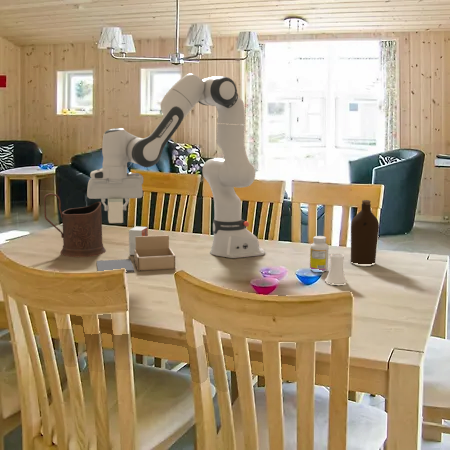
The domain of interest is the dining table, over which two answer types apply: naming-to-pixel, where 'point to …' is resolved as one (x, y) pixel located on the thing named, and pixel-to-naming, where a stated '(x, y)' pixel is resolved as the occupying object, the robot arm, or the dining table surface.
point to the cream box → (115, 210)
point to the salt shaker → (336, 270)
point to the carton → (153, 253)
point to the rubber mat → (115, 265)
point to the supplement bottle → (319, 254)
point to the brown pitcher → (80, 230)
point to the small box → (136, 233)
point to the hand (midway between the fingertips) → (115, 210)
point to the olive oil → (364, 235)
